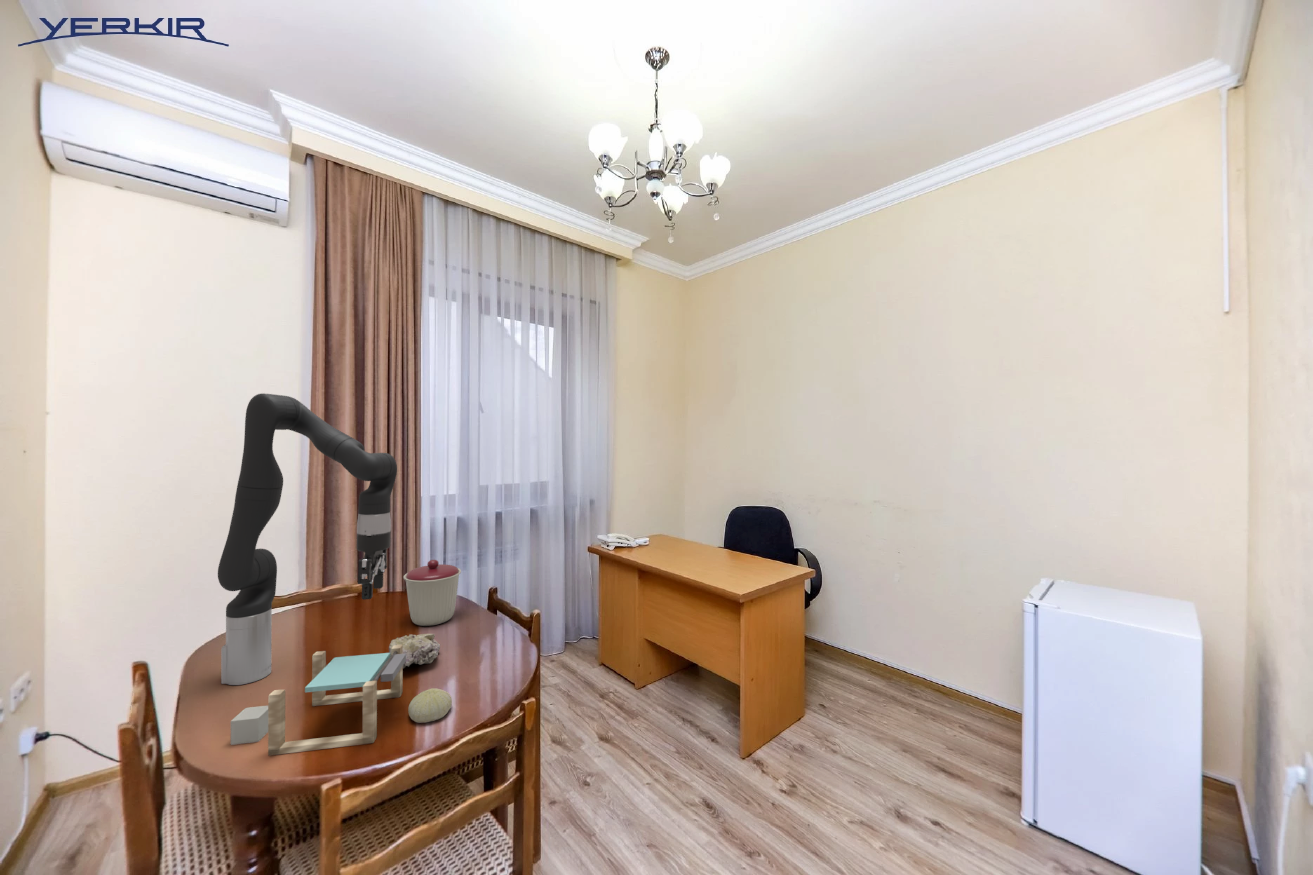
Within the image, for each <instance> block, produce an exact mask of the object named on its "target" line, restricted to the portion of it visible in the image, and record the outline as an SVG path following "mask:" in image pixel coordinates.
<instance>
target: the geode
mask: <svg viewBox="0 0 1313 875" xmlns="http://www.w3.org/2000/svg"><path fill="white" fill-rule="evenodd" d="M435 636H436V634H435V633H422V634H417V635H416V634H409V635H406V634H405V635H403V636H401V637H398V636H397V637H396V638H395V639H392V640H391V641H390V643H389V646H388V653H390V657H391V648H392V647H393V646H394V645H403V654H406V661H405V663H404V664H403V669H405V668H406V667H408V668H409V667H410V666H411V665H412V664H415V665H417V664H418V665H424V664H429V665H430V664H432V663H433V661H434V660H435V659H437V657H439V656H438V654H439V652H440V650H441V644H440V643H439V642H438V641H437V640H436V639H435Z"/></svg>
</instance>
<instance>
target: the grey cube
mask: <svg viewBox="0 0 1313 875" xmlns="http://www.w3.org/2000/svg"><path fill="white" fill-rule="evenodd" d="M266 735H268V705H259V706H251V707H250V706H249V707H245V708H244V709H243V710H242V711H240V712H239V713H238V714H237V715H235V717H234V718H232V719H231V720H230V745H231V746H234V745H243V744H251V743H257V742H258V743H260V741H261V740H262V739H263V738H264V737H265V736H266Z"/></svg>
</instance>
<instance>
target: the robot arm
mask: <svg viewBox="0 0 1313 875" xmlns="http://www.w3.org/2000/svg"><path fill="white" fill-rule="evenodd" d="M245 411H246V412H245V417H244V418H245V419H244V420H245V421H244V439H243V440H244V441H243V452H242V459H241V465H240V466H241V467H240V470H239V471H240V472H239V475H238V480H237V486H236V490H235V491H236V492H235V495H234V497H235V498H234V505H233V511H232V514H231V521H230V525H229V529H228V534H227V537H226V541H225V544H224V548H223V550H222V552H221V553H222V554H221V557H220V559H219V564H218V567H217V579H218V583H219V585H220V586H221V587H222V588H223V589H224V590H226V591H228V592H238V594H237V595H236V596H235V597H234V598H233V599H231V600H230V601H229V602H228V604H227V605H226V607H225V644H224V645H223V646H221V648H220V649H221V651H220V652H221V653H220V654H221V655H220V656H221V659H220V660H221V662H220V663H221V669H220V670H221V672H220V673H221V676H220V677H221V678H220V680H221V681H220V683H221V685H224V684H226V685H230V686H241V685H246V684H251V683H254V682H257V681H260V680H261V679H264V678H266V677H267V676H269V675H271V673H272V635H273V634H272V627H273V626H272V622H273V620H272V616H273V614H272V611H273V610H272V609H273V608H272V607H273V606H272V604H273V601H274V599H275V596H276V591H277V577H278V575H277V574H278V564H277V560H276V557H275V556H274V554H273V553H272V552H271V551H270V550H268V549H265V548H257V544H258V541H259V538H260V536H261V533H262V532H263V531H264V529H265V528H266V526H267V524H268V523H269V522H270V521H271V519H272V517H273V516H274V514H275V513H276V511H277V509H278V507H279V505H280V503H281V500H282V499H281V498H282V494H283V493H282V492H283V486H284V476H283V473H282V470H281V468H280V466H279V464H278V462H277V459H276V457H275V455H274V449H273V446H274V445H273V443H274V436H275V433H276V432H275V431H276V430H277V431H278V430H279V431H280V430H281V431H287V430H288V431H293V432H295V433H298V434H300V435H303V436H304V437H306V438H307V439H308V440H310V441H311V443H312V444H313V446H314V448H316V449H317V451H319V452H320V453H321V454H323V455H324V456H327V458H330V459H331V460H333V461H335V462H336V463H338V464H341V466H342V467H343V468H344V469H345V470H346V471H347V472H348V473H349V474H351V475H352V476H353V477H355V478H356V479H357V480H361V481H363V482H369V484H368V487H367V489H365V490H362V491H361V492H360V493H359V497H358V514H357V515H358V516H357V521H356V522H357V524H356V550H357V551H358V552H363V553H364V556H363V558H361V559H359V560H358V571H357V572H358V574H357V575H358V576H357V584H358V585H361V600H371V599H372V598H373V595H374V594H373V593H374V590H375V589H376V590H377V589H382V588H383V587H384V574H385V572H386V569H387V568H388V549H389V548H390V547H391V542H392V541H391V539H392V538H391V534H392V520H391V518H392V517H391V495H392V492H393V489H394V485H395V481H396V478H397V474H398V473H397V472H398V464H397V461H396V459H395V458H394V456H393V455H391V454H390V453H387V452H373V453H372V452H371V453H370V452H368V451H365V450H366V449H365V446H364V445H363V444H362V442H360V441H358V440H357V439H355V438H353V437H352V436H350V435H348V434H346V433H344V432H343V431H341V430H339V429H337V428H335V427H334V426H332V424H331V425H330V424H329V423H328V422H326V421H325V420H324V419H322V418H320V417H319V416H318V415H317V414H315V413H314V412H313V411H311V409H309V408H308V407H307V406H306V405H305V404H304V403H302V402H301V401H299V400H298V399H296V398H295V397H292V396H290V395H289V396H288V395H281V394H273V393H258V394H256V395H254V396H252V398H251V399H250V400H249V401H248V403H247V407H246V410H245Z"/></svg>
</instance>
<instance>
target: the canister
mask: <svg viewBox="0 0 1313 875" xmlns="http://www.w3.org/2000/svg"><path fill="white" fill-rule="evenodd" d="M461 573H462V569H461V568H459V567H456V566H455V565H451V564H444V563H443V564H439V561H438V560H437V559H430V560H429V561H427V564H426V565H424V566H420V567H416V568H413V569H411V570H410V571H408V572H406V573H405V574H404V575H403V580H404V581H405V584H406V594H407V602H408V610H409V615H410V619H411V621H412V623H413V624H415V625H417V626H419V627H420V626H421V627H422V626H423V627H428V626H436V625H439V624H443V623H446V622H448V621H450V619H452V618H453V616H454V614H455V609H456V602H457V595H458V586H459V580H460V579H459V578H460V574H461Z"/></svg>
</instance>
